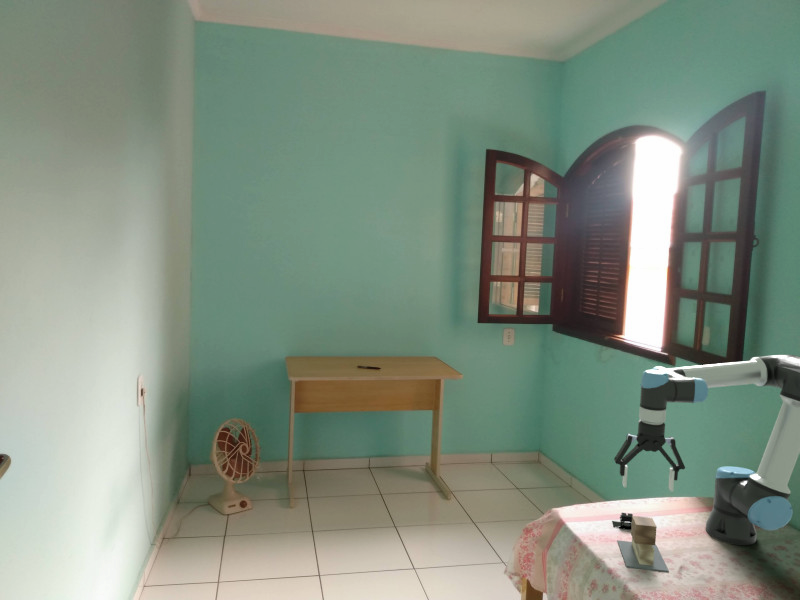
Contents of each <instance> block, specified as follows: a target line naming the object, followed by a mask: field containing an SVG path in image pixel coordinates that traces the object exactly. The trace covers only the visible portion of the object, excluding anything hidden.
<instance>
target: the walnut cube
mask: <svg viewBox="0 0 800 600" xmlns="http://www.w3.org/2000/svg"><path fill="white" fill-rule="evenodd" d="M657 527H658V526H657V524H656V523H655V520H654V518H653V517H647V516H636V515H633V516H632V525H631V530H630V535H631V539H632V538H633V540H634V543H638V544H647V545H655V544H656V538H657Z"/></svg>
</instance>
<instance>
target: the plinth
mask: <svg viewBox="0 0 800 600" xmlns="http://www.w3.org/2000/svg"><path fill="white" fill-rule="evenodd" d="M631 542H632V547H633V550H634V552H635V555H636V557H637V560H638V562H639V564H643V565H652V566H653V561H654V548H653V546H652V545H647V544H638V543H634V540H633V538H632V537H631Z"/></svg>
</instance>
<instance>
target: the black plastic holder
mask: <svg viewBox="0 0 800 600" xmlns="http://www.w3.org/2000/svg"><path fill="white" fill-rule="evenodd" d="M632 516H634V515H633V514H632V513H627V512H621V515H619V521H616V520H612V521H611V523H612V527H613V528H614V529H620V530H626V531H631V525H632Z"/></svg>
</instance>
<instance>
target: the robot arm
mask: <svg viewBox="0 0 800 600" xmlns="http://www.w3.org/2000/svg"><path fill="white" fill-rule="evenodd" d="M744 385H755V386H757V387H773V388H777V389H781V390H780V393H779V396H780V399H781V401H782V403H781V404H782V405H781V406H780V410H779V412H778V415H777V418H776V420H775V423H774V425H773V429H772V431H771V433H770V436H769V439H768V441H767V444H766V446H765V447H766V448H765V450H764V452H763V455H762V458H761V461H760V463H759V465H758V468H757V471H753V470H752V469H749V468H745V467H740V466H730V465H728V466H720V467H718V468H717V470H716V472H715V473H716V474H715V476H714V477H715V480H714V481H715V484H714V495H713V506H712V510H711V511H710V513H709V516H708V518H707V520H706V522H705V531H706V533H707V534H708V535H710V537H712V538H714V539H715V540H719V541H720V542H723V543H727V544H731V545H736V546H751V545H754V544H756V542H757V530H756V527H755V526H757V527H759V528H760V529H762V530H765V531H776V530H779V529H782V528H784V527H785V526H786V525H788V523H789V522H790V521H791V519H792V517H793V513H794V511H793V507H792V504H791V502H790V501H789V499H790V495H791V493H792V491H791V490H790V488H789V486H788V484H789V481H790V479H791V476H792V474H793V471H794V468H795V465H796V463H797V460H798V458H799V456H800V356H799V355H795V354H787V353H785V354H773V355H772V354H771V355H764V356H763V355H762V356H753V357H751V358H750V360H745V361H731V362H722V363H721V362H720V363H711V364H703V365H702V364H701V365H691V366H680V367H665V366H661V365H658V366H654V367H652V368H651V369H646V370H643V372H642V375H641V381H640V397H639V399H640V401H639V410H638V411H639V412H638V418H639V420H638V425H637V426H638V427H637V435H633V434H631V433H627V434H626V436H625V437H626V438H625V441H624V442H623V444H622V445H621V447H620V449H619V450H618V452H617V453H616V456H615V457H614V459H613V460H614V462H615V464H616V465H619V475H620V476H621V477H622V483H621V484H622V486H623V488H627V484H628V482H627V481H628V470H629V469H628V468H629V467H628V464H629V463H630V462H631V461H632V460H633V459H634V458H635V457H636V456H637V455H638V454H640V453H641V452H643V451H645V452H653V453H657V452H658V451H659V452H660V453H661V455H662V456H663V457H664V458H665V460H666V461H667V462H668V463H669V464H670V466H671V467H669V471H668V472H669V473H668V488H667V489H668V490H669V491H670V492H671V493H673V492H674V485H675V484H674V483H675V482H676V481H678V476H679V472H680V470H685V469H686V466H685V464H684V461H683V460H682V457H681V454H680V453H679V450H678V448H677V445H676V439H675V438H674V437H673V436H669V437H666V436H665V433H666V431H665V430H666V423H665V422H666V417H667V406H668V403H678V404H679V403H688V404H689V403H690V404H696V403H703V402H705V401H706V400H707V398H708V396H709V389H711V388H721V387H723V388H724V387H733V386H744ZM634 441H637V444H635V445H634V447H633V448H632V449H630V447H631V444H632V443H634ZM666 443H667V445H668V446H670V449H671V451H672V453H673V456H674V458H675V460H676V462H677V464H676V463H675V461H674V460H673V459H672V457H670V455H669V454H668V453H667V452H666V450H665V449H664V448H663V446H664V445H665V444H666ZM629 449H630V451H629V452H628V450H629ZM626 453H627V454H626Z"/></svg>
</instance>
